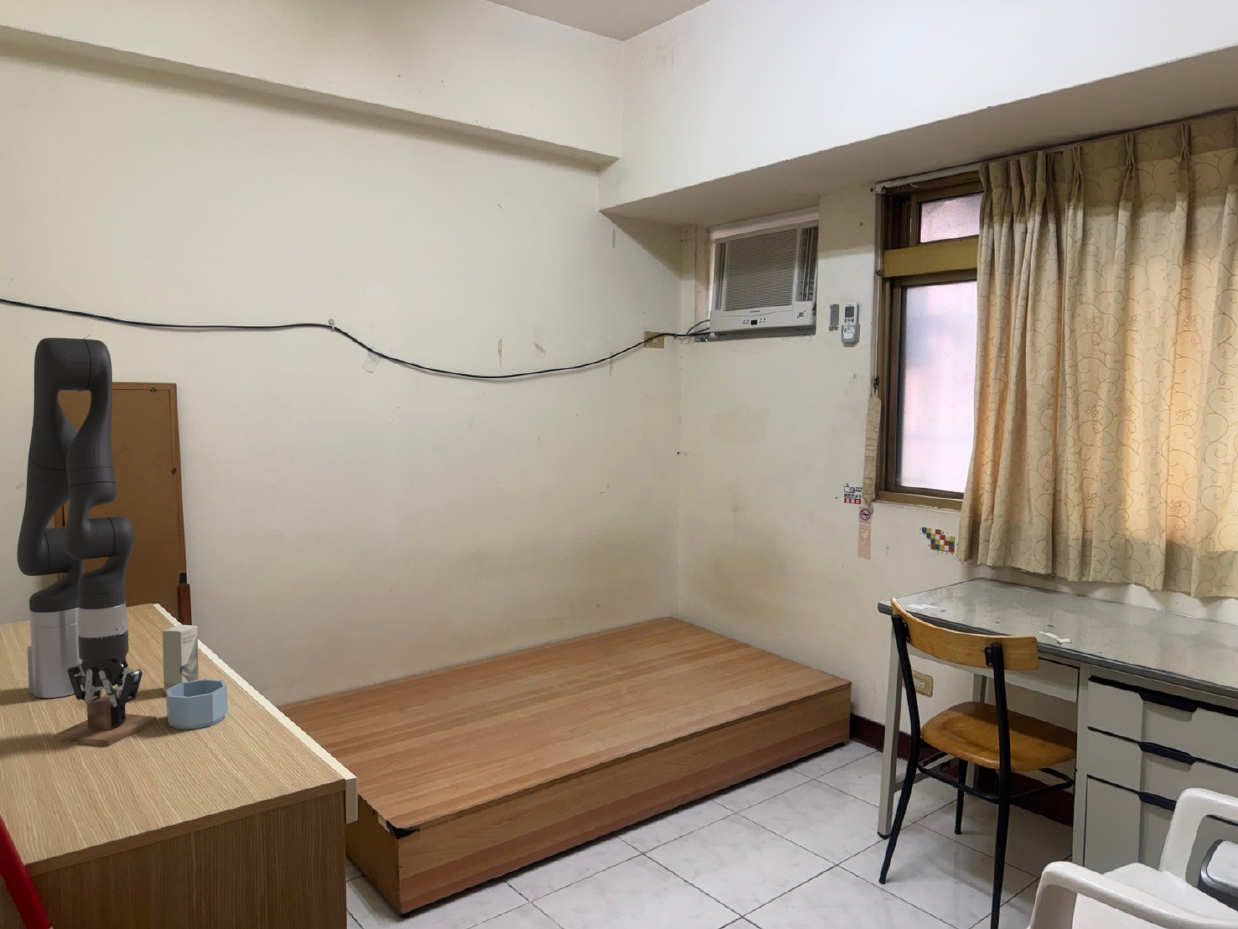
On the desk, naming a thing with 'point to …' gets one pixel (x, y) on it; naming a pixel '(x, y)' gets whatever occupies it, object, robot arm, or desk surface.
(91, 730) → the lid
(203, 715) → the bowl
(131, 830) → the desk surface
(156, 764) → the desk surface
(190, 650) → the box
